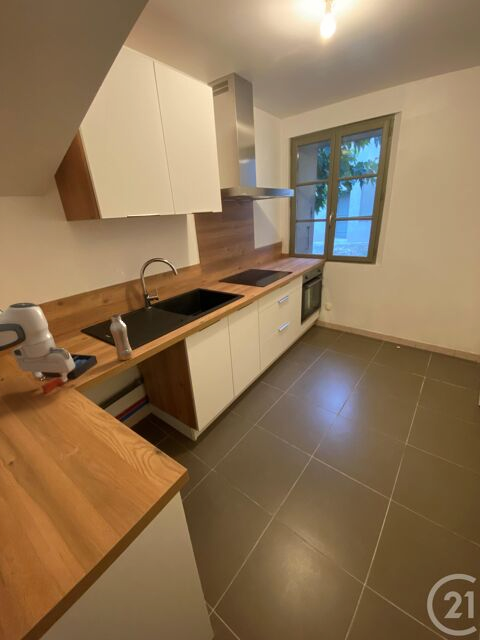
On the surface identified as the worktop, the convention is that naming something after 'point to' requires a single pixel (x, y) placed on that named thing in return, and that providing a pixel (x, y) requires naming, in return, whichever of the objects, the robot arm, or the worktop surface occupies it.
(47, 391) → the red block
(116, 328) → the plastic bottle
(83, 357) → the organiser
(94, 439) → the worktop surface
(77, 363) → the blue block
